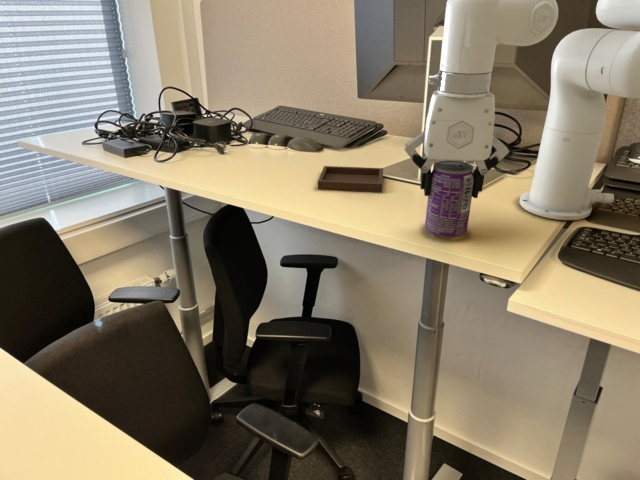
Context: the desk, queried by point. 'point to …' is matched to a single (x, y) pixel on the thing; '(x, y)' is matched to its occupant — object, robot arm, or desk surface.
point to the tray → (351, 179)
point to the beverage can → (449, 199)
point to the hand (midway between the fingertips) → (450, 193)
